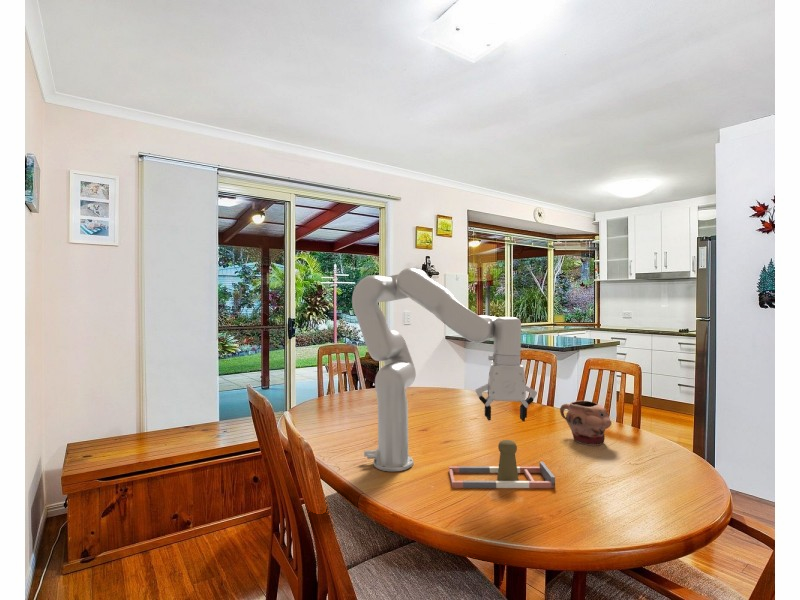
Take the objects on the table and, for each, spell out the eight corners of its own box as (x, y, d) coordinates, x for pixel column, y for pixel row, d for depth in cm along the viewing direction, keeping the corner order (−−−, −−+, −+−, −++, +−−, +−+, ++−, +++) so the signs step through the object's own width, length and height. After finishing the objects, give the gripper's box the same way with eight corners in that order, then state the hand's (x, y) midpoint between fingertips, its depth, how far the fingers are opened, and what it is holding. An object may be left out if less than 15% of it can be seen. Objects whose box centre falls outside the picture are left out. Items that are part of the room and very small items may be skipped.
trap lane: (452, 487, 117) (452, 476, 117) (448, 471, 128) (448, 461, 128) (555, 488, 116) (555, 477, 116) (542, 471, 127) (542, 461, 127)
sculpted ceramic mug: (549, 437, 158) (549, 399, 158) (567, 430, 165) (567, 395, 165) (603, 452, 142) (602, 410, 142) (620, 444, 149) (620, 404, 149)
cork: (503, 485, 118) (503, 445, 118) (493, 476, 124) (493, 438, 124) (522, 482, 119) (522, 443, 119) (512, 474, 125) (511, 436, 125)
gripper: (478, 361, 118) (477, 422, 118) (541, 363, 117) (539, 424, 118) (474, 357, 125) (473, 415, 126) (533, 358, 125) (532, 416, 125)
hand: (505, 419), depth 122 cm, fingers open, 9 cm apart
